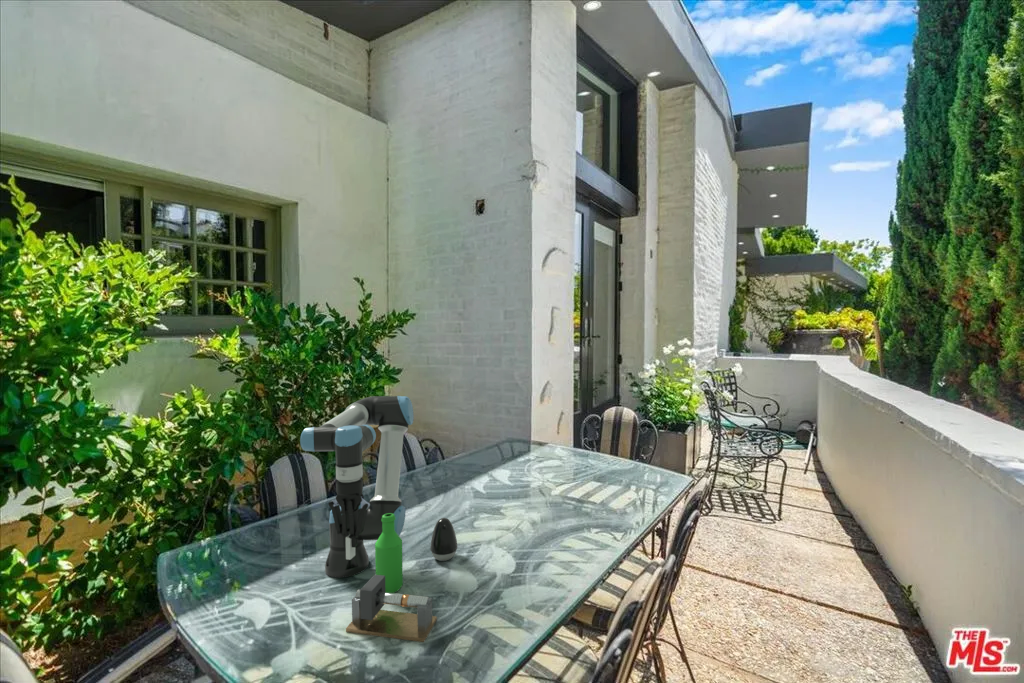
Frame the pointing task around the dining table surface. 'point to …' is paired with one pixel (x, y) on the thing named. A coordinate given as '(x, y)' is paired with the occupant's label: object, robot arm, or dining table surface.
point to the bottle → (389, 555)
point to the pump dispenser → (443, 540)
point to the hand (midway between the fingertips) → (350, 557)
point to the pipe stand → (395, 617)
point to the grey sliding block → (371, 597)
